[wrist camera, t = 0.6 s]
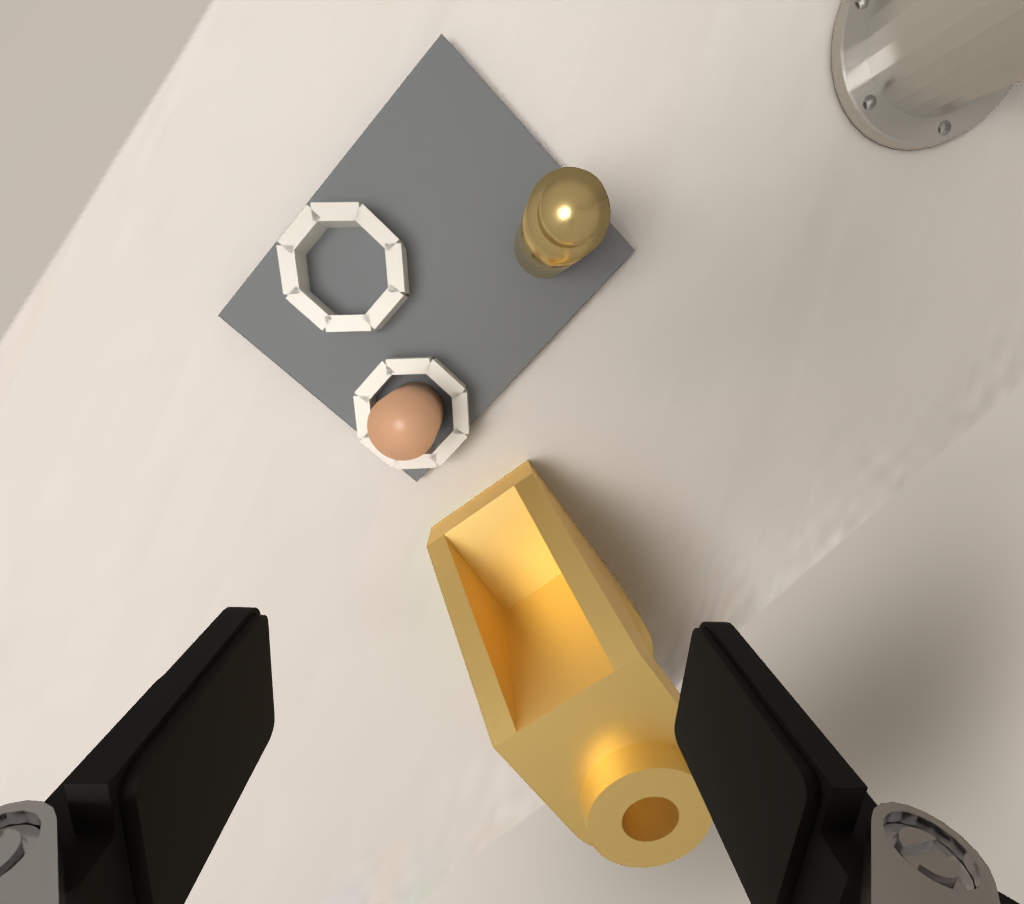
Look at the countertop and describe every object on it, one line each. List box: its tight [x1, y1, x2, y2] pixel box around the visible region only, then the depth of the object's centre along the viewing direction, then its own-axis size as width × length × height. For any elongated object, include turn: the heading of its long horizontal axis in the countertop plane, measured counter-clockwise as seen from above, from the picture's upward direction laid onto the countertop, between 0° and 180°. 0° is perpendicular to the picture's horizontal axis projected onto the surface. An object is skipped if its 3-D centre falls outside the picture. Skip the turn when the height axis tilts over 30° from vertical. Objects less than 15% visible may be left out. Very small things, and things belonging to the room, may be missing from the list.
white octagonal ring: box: [276, 202, 410, 332], centre depth 30 cm, size 7×7×2 cm
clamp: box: [427, 460, 712, 867], centre depth 31 cm, size 20×9×16 cm, turn 35°
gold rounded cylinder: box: [514, 167, 610, 278], centre depth 26 cm, size 4×4×10 cm
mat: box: [218, 34, 634, 482], centre depth 32 cm, size 22×17×1 cm
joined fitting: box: [353, 356, 470, 469], centre depth 30 cm, size 7×7×6 cm
